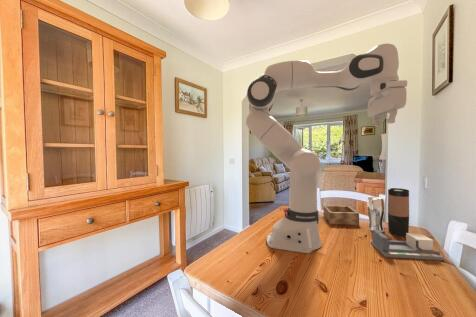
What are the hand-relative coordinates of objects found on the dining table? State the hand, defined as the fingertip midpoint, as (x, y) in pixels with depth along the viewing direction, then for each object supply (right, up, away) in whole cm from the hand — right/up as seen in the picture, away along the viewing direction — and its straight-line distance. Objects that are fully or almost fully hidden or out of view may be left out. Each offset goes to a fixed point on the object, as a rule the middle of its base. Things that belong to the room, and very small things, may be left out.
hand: (384, 124), depth 79 cm
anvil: (-2, -47, -1) cm, 47 cm away
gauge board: (+6, -48, -2) cm, 48 cm away
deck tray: (0, -47, +33) cm, 58 cm away
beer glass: (+9, -47, +18) cm, 52 cm away
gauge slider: (+10, -47, -4) cm, 48 cm away
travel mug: (+17, -47, +14) cm, 52 cm away
